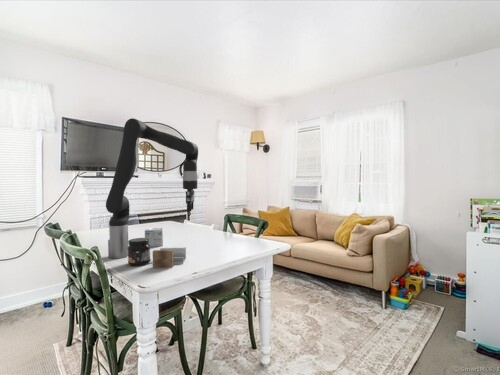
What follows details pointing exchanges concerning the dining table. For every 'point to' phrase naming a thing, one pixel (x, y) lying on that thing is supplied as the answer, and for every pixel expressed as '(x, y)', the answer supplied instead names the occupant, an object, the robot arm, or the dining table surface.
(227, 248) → the dining table surface
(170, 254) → the brown rectangular block
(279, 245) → the dining table surface
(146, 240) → the supplement container
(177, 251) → the grey channel holder
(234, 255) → the dining table surface
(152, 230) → the light bulb box
